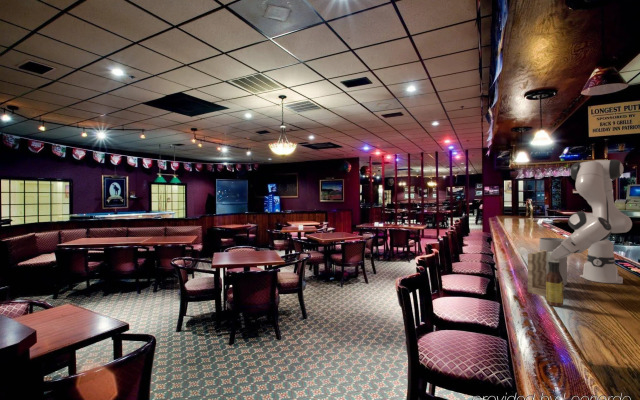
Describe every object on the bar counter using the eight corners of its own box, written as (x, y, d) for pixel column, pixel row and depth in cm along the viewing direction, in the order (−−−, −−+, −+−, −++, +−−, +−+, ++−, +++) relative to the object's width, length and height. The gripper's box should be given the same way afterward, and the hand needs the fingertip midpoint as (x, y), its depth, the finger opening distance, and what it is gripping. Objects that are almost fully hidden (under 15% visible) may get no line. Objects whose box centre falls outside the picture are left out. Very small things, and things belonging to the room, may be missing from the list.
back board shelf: (542, 286, 171) (542, 249, 171) (564, 290, 163) (564, 252, 163) (527, 292, 161) (527, 253, 161) (550, 297, 153) (550, 256, 152)
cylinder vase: (543, 284, 174) (543, 240, 173) (537, 279, 185) (537, 237, 185) (570, 287, 169) (570, 241, 169) (562, 281, 181) (562, 238, 180)
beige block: (551, 270, 163) (551, 248, 163) (559, 271, 160) (559, 249, 160) (547, 271, 160) (547, 249, 160) (555, 273, 157) (555, 250, 157)
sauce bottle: (566, 307, 139) (566, 263, 139) (550, 306, 140) (550, 262, 140) (558, 302, 146) (558, 260, 145) (543, 301, 147) (543, 259, 147)
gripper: (577, 237, 160) (554, 253, 168) (562, 241, 148) (538, 258, 157) (588, 247, 157) (564, 263, 165) (573, 251, 145) (549, 268, 153)
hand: (551, 260), depth 161 cm, fingers closed on beige block, 5 cm apart
